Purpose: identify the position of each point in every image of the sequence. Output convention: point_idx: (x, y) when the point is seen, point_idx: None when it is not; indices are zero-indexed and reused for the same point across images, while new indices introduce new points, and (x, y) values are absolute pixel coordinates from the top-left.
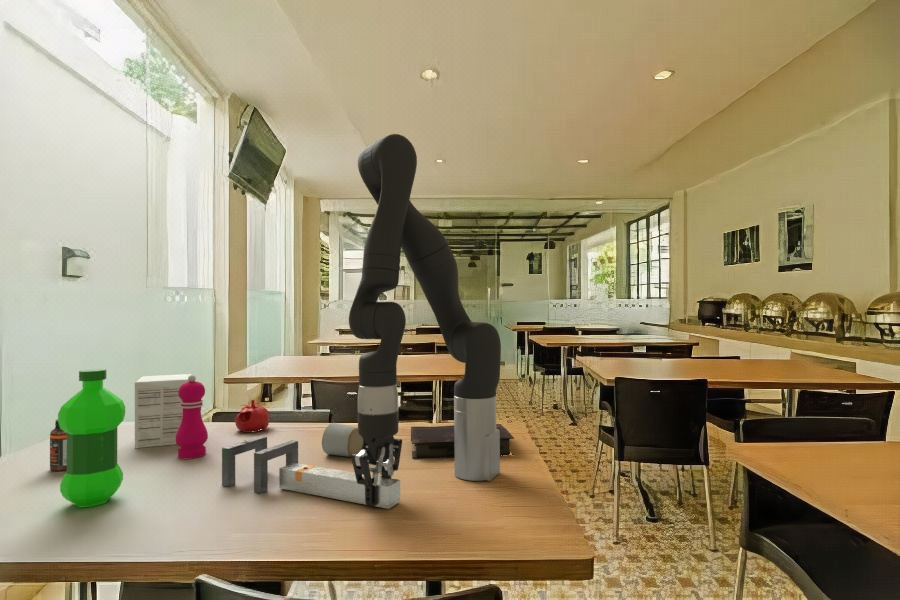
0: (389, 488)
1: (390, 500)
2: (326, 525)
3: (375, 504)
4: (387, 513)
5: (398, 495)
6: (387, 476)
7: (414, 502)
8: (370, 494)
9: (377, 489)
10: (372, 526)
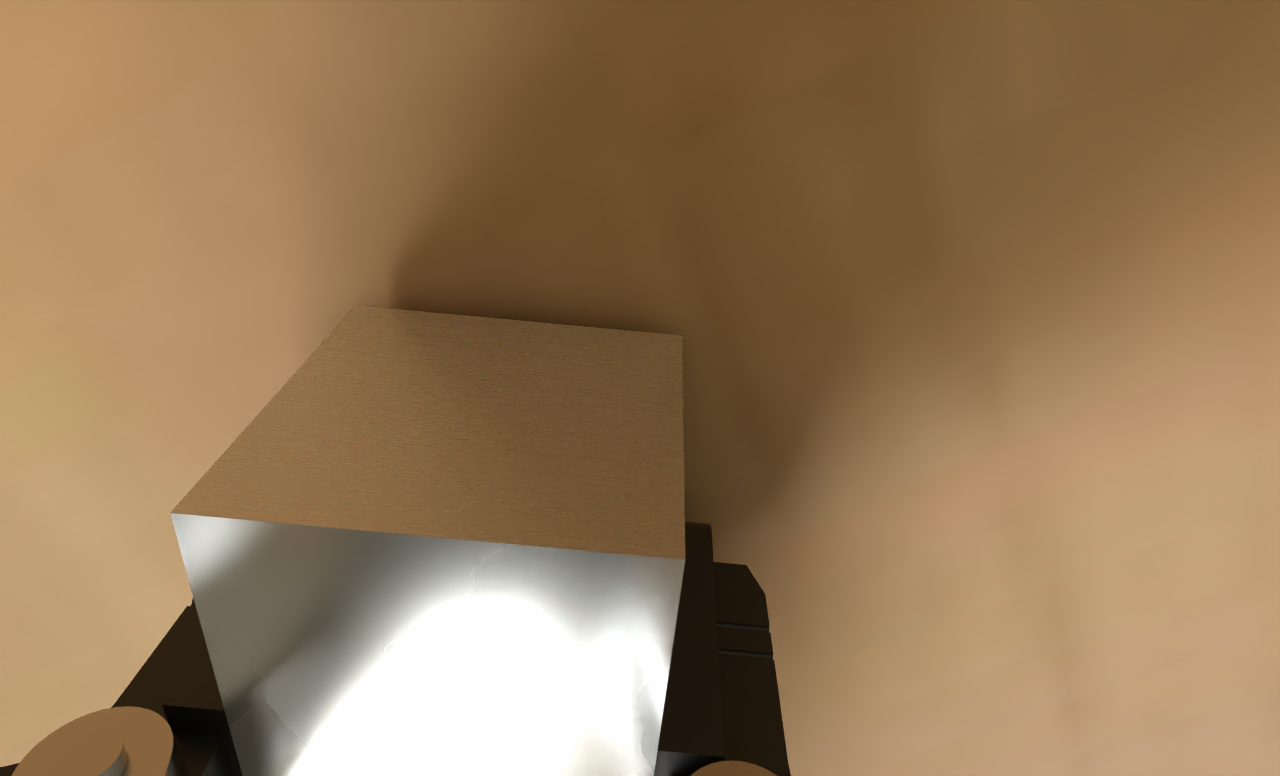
0: (659, 523)
1: (631, 385)
2: (1214, 719)
3: (708, 530)
4: (765, 305)
5: (374, 360)
6: (211, 768)
7: (218, 102)
8: (774, 689)
9: None
10: (1241, 300)
